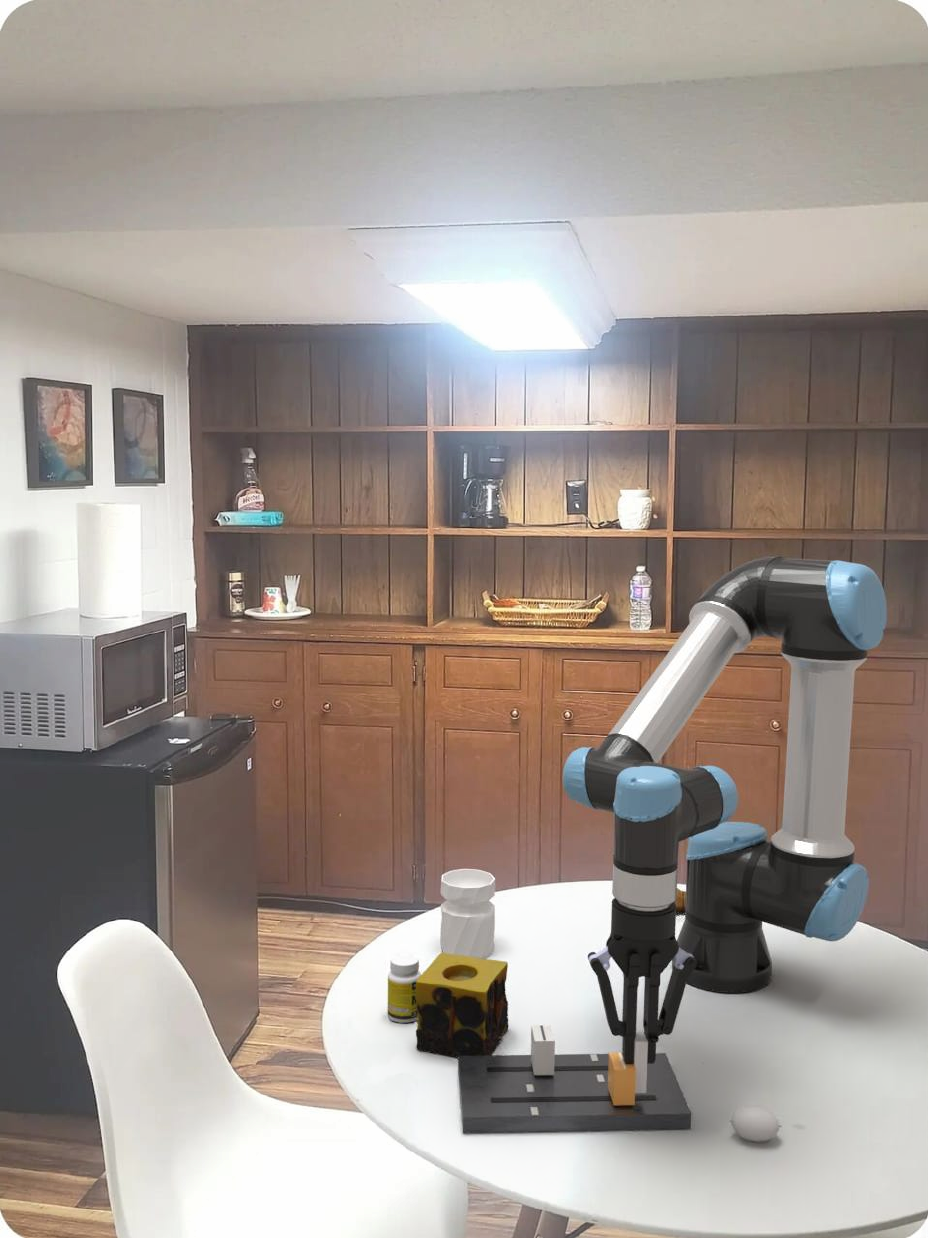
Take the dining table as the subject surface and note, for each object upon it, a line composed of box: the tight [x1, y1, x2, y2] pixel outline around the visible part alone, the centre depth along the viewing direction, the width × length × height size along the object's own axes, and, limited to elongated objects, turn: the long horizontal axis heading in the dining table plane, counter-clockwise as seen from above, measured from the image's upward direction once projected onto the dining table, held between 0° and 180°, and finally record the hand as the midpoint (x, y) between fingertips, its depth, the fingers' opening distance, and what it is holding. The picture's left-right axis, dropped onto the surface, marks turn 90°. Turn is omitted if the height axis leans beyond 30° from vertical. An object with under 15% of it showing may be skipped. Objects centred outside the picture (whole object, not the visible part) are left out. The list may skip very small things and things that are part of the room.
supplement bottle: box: [387, 953, 422, 1024], centre depth 162 cm, size 5×5×8 cm
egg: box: [728, 1105, 782, 1143], centre depth 134 cm, size 4×6×4 cm, turn 80°
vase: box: [440, 868, 496, 959], centre depth 184 cm, size 9×9×12 cm
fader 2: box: [608, 1051, 636, 1105], centre depth 138 cm, size 2×4×5 cm, turn 2°
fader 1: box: [530, 1024, 556, 1075], centre depth 145 cm, size 2×4×5 cm, turn 3°
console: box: [457, 1052, 693, 1134], centre depth 142 cm, size 27×14×2 cm, turn 93°
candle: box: [415, 952, 510, 1058], centre depth 155 cm, size 10×10×10 cm
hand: (637, 1086), depth 138 cm, fingers closed
